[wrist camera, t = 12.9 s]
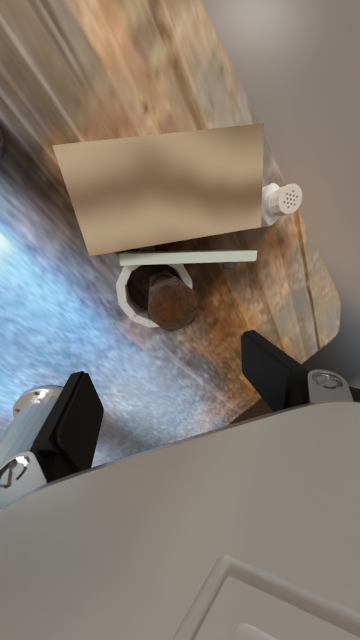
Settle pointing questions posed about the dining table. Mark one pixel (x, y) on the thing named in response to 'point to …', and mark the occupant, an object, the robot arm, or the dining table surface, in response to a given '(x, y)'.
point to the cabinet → (164, 187)
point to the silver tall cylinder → (1, 143)
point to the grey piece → (175, 261)
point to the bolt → (171, 301)
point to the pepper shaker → (279, 202)
